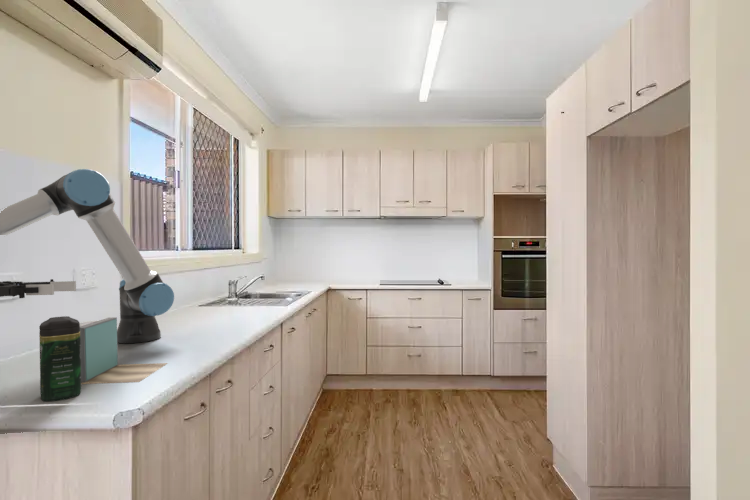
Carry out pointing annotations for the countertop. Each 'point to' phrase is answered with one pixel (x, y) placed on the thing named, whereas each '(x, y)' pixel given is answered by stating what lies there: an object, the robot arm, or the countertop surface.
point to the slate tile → (98, 348)
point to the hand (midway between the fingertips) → (64, 287)
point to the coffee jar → (60, 358)
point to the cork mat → (126, 373)
